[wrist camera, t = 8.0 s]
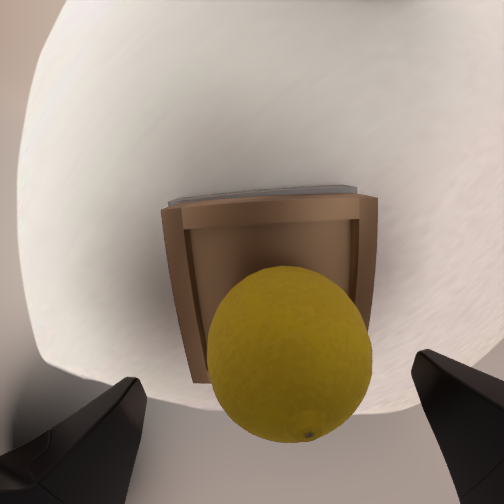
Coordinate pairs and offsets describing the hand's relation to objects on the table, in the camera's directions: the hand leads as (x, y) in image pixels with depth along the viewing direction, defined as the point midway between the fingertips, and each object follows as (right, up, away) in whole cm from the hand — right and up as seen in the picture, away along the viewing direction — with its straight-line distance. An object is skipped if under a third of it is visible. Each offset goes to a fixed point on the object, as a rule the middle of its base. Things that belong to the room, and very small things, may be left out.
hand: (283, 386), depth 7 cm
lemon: (0, +2, +6) cm, 6 cm away
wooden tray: (0, +2, +8) cm, 8 cm away
